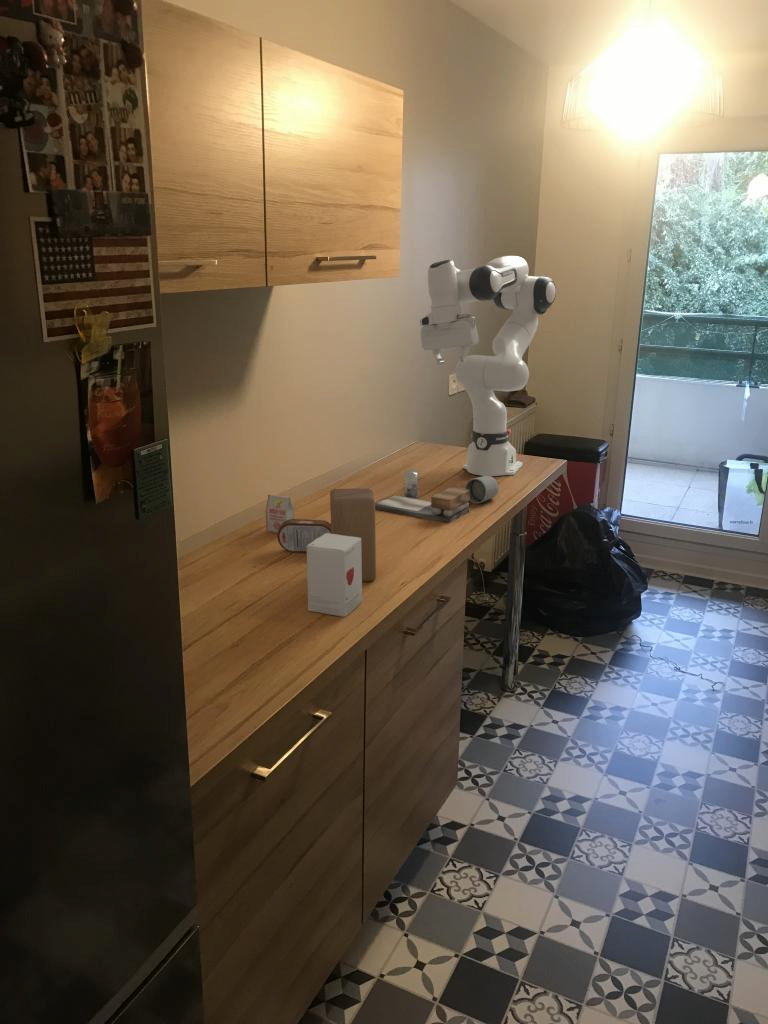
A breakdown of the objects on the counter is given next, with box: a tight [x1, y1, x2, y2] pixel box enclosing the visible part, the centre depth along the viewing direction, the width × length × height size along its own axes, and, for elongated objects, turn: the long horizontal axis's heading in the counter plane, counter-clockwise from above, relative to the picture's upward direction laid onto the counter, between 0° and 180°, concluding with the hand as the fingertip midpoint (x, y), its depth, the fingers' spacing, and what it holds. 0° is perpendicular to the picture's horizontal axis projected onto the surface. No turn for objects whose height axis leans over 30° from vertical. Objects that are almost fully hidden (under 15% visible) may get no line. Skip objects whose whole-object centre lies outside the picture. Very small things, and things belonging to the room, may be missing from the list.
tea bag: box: [265, 494, 295, 534], centre depth 226 cm, size 4×7×10 cm, turn 62°
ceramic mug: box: [464, 476, 499, 505], centre depth 253 cm, size 11×8×8 cm
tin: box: [276, 518, 331, 554], centre depth 211 cm, size 15×3×8 cm, turn 84°
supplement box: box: [306, 533, 363, 618], centre depth 177 cm, size 9×9×15 cm
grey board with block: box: [375, 486, 470, 523], centre depth 244 cm, size 12×26×7 cm, turn 58°
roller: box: [404, 469, 419, 499], centre depth 256 cm, size 4×4×8 cm
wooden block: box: [329, 487, 377, 582], centre depth 194 cm, size 10×10×20 cm
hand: (452, 363), depth 253 cm, fingers open, 8 cm apart
